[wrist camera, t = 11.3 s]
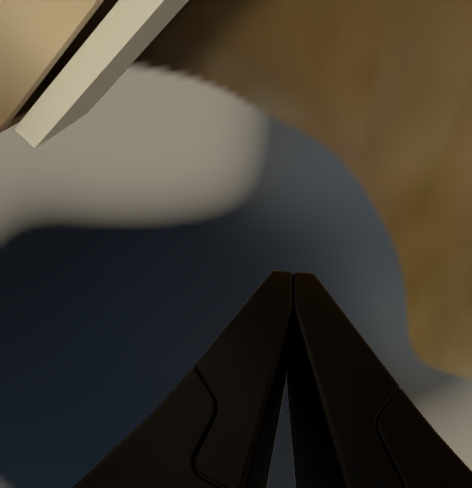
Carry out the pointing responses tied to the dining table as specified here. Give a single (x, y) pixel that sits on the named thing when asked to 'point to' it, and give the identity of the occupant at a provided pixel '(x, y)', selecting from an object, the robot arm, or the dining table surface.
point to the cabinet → (40, 47)
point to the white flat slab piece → (97, 66)
